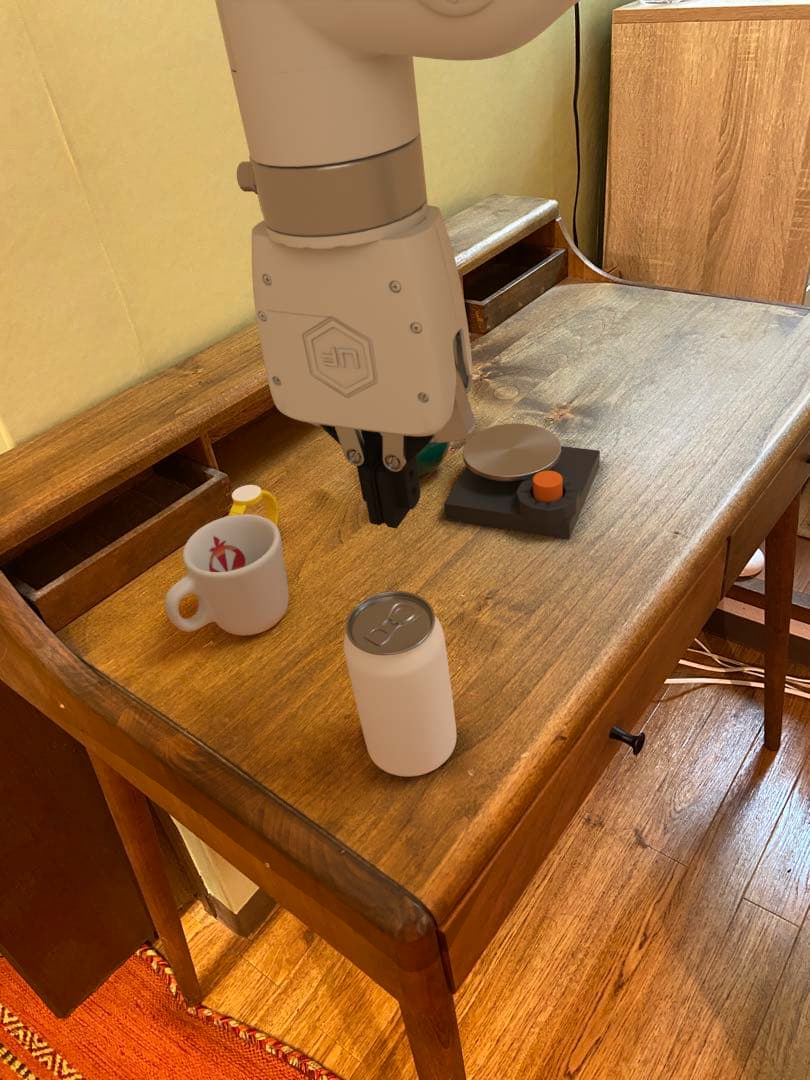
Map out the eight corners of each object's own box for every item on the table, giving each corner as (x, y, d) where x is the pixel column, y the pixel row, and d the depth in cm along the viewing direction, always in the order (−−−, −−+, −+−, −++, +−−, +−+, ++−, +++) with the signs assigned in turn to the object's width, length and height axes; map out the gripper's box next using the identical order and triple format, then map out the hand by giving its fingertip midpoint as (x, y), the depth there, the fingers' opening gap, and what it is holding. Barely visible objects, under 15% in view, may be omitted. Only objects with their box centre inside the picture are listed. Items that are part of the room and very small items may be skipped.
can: (475, 732, 58) (462, 610, 51) (418, 797, 55) (395, 675, 47) (406, 693, 62) (385, 573, 55) (348, 750, 58) (317, 631, 51)
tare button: (565, 488, 75) (565, 472, 74) (558, 504, 73) (558, 488, 72) (537, 484, 76) (537, 468, 75) (529, 500, 74) (529, 484, 73)
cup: (209, 682, 65) (180, 609, 60) (163, 634, 70) (132, 563, 65) (317, 611, 70) (298, 538, 65) (266, 571, 75) (245, 501, 70)
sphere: (363, 469, 87) (351, 403, 82) (425, 441, 90) (417, 375, 85) (403, 503, 81) (393, 434, 76) (469, 472, 84) (463, 403, 79)
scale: (602, 466, 82) (603, 436, 80) (570, 544, 73) (570, 513, 71) (485, 452, 87) (483, 423, 84) (442, 524, 78) (438, 494, 76)
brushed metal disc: (571, 433, 81) (571, 428, 81) (546, 487, 74) (546, 482, 74) (481, 423, 84) (481, 418, 84) (449, 474, 78) (448, 469, 78)
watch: (253, 566, 76) (237, 515, 73) (229, 559, 77) (213, 509, 74) (289, 528, 80) (276, 478, 76) (267, 523, 81) (252, 473, 78)
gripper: (160, 213, 37) (254, 529, 49) (467, 219, 32) (493, 577, 43) (249, 164, 43) (316, 461, 54) (527, 162, 37) (536, 495, 48)
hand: (394, 512), depth 48 cm, fingers closed
